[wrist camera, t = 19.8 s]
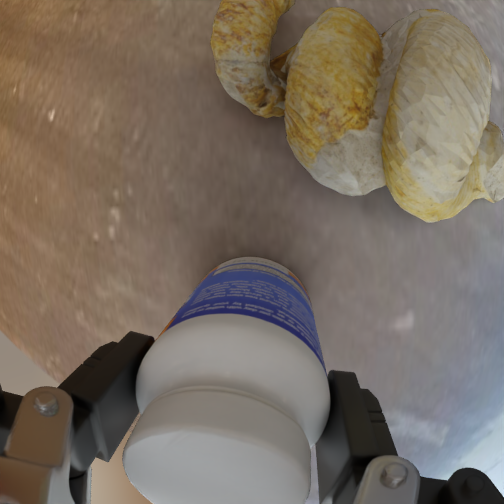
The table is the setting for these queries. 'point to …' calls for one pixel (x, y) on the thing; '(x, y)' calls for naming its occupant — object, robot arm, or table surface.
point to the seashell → (372, 102)
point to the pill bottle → (232, 393)
